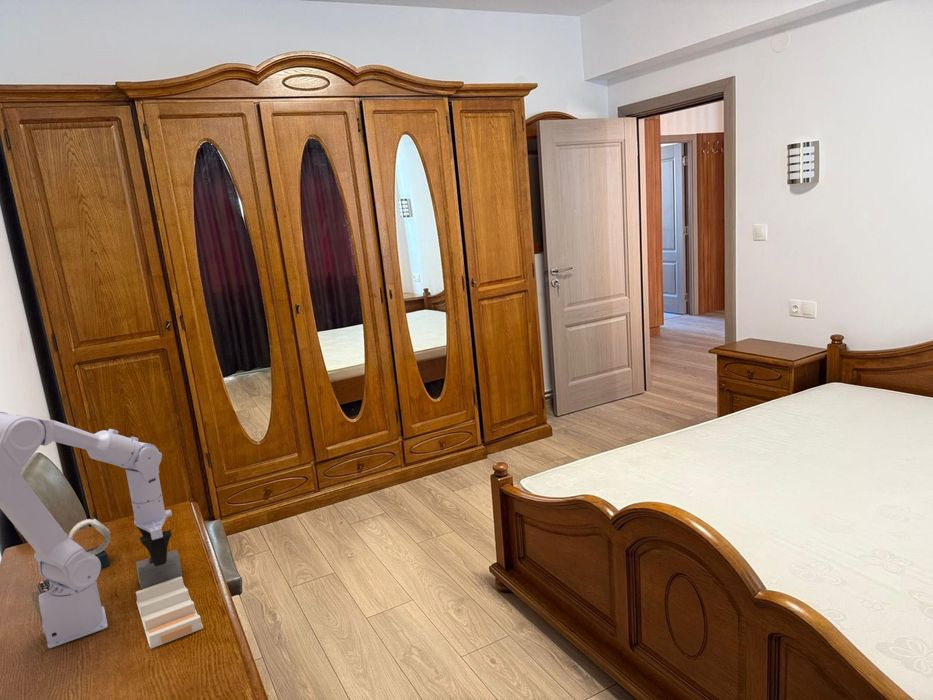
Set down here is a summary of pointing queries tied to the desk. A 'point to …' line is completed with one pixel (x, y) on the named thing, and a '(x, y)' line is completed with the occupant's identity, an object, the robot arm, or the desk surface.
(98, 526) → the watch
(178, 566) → the panel
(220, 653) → the desk surface
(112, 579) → the desk surface
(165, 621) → the rack
